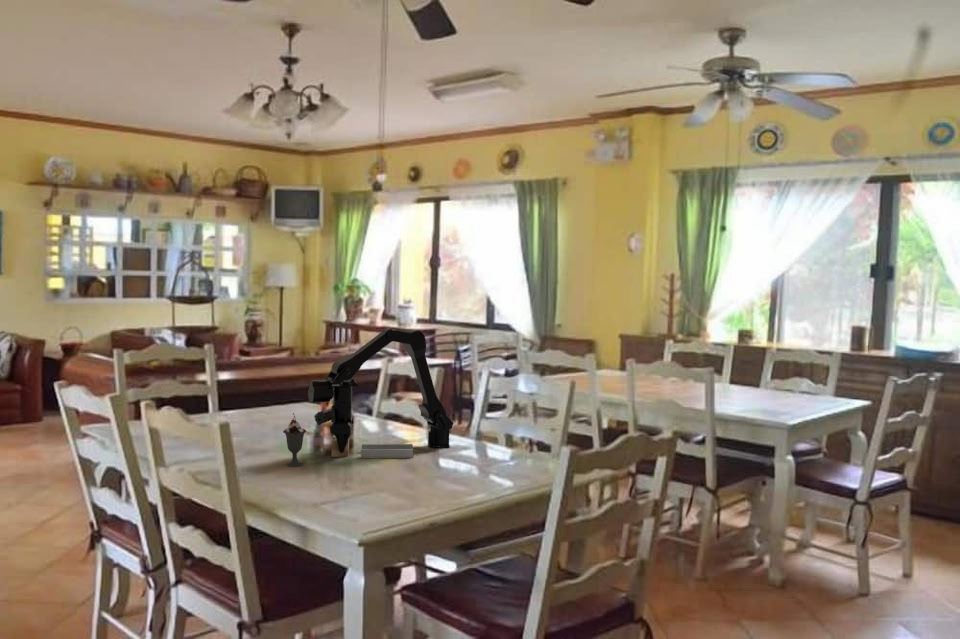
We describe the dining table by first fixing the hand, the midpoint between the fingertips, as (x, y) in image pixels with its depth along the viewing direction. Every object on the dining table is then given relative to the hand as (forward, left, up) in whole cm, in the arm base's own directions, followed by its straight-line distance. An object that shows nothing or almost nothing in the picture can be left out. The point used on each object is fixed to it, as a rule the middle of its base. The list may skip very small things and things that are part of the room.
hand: (342, 450), depth 263 cm
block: (+1, 0, -1) cm, 1 cm away
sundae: (+13, +13, -1) cm, 18 cm away
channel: (-14, 0, -1) cm, 14 cm away
